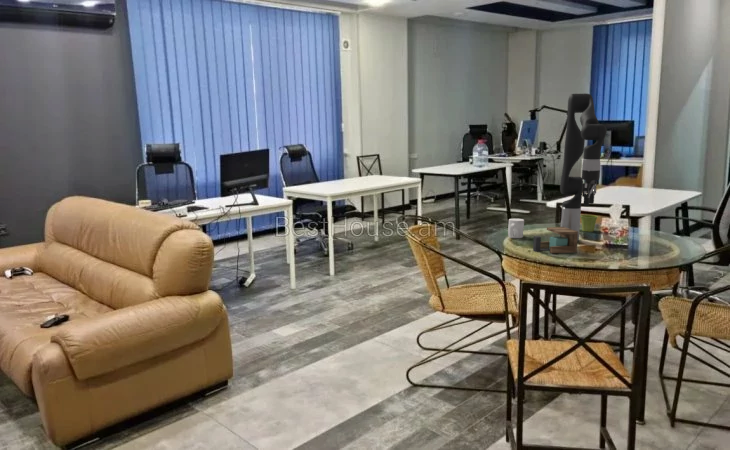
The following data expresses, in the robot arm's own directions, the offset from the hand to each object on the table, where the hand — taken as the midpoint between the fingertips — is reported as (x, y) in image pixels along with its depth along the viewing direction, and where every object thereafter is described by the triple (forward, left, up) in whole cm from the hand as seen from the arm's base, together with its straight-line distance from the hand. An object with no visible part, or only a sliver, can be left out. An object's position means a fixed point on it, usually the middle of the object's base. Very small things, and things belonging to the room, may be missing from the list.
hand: (588, 204), depth 254 cm
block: (-14, -11, -24) cm, 29 cm away
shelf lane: (-14, -7, -24) cm, 28 cm away
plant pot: (-55, +36, -24) cm, 70 cm away
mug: (-48, -12, -24) cm, 55 cm away
